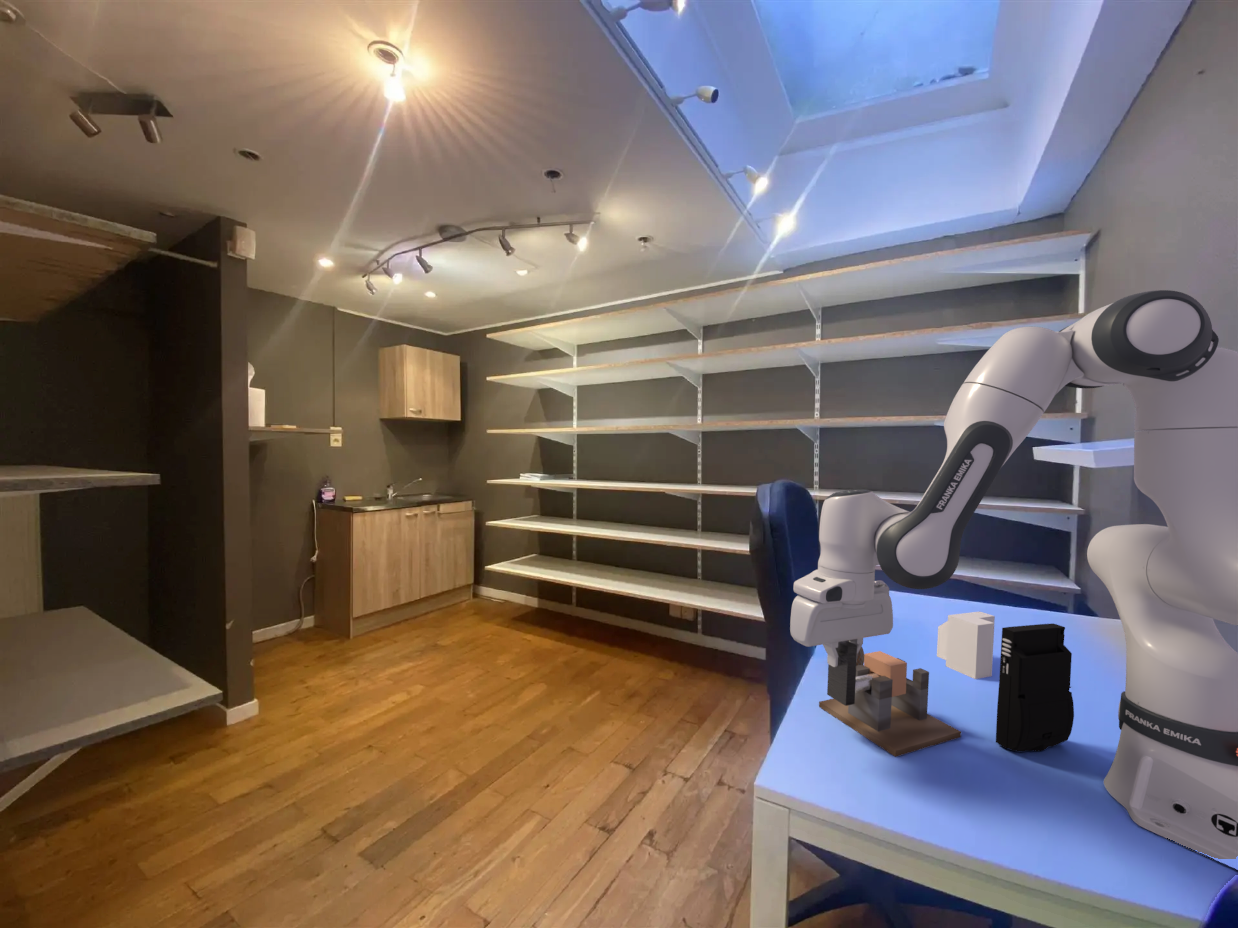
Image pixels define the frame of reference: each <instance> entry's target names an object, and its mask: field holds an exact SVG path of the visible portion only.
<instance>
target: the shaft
mask: <svg viewBox="0 0 1238 928" xmlns="http://www.w3.org/2000/svg"><path fill="white" fill-rule="evenodd" d="M836 651H837V654H838V655H840V656H842V661H841V662H842V665H841V666H837V667H833V666H831V665H829V664H828V663H827V664H828V669H827V689H826V690H827V692H826V695H827V696H829V697H830V698H831V699H835V700H837V701H838V702H840V703H842V704H843V705H845V706H848V705H852V704H855V693H857V692H861V691H866V690H870V689H872V678H875V677H880V675H878V674H877V673H872V674H867V675H862V676H857V677H856V661H857V645H855V644H853V643H851V642H849V641H841V642H838V648H836Z"/></svg>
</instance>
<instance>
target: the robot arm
mask: <svg viewBox="0 0 1238 928" xmlns="http://www.w3.org/2000/svg"><path fill="white" fill-rule="evenodd" d="M1219 343H1220V339H1219V336H1218V335H1217V333H1216V332H1215V331H1214V329H1213V324H1212V321H1211V317H1210V316H1209V314H1208V311H1207V310H1206V309H1205V307H1204V306H1203V305H1202V304H1201V303H1200V302H1199V301H1198V300H1197V299H1195V298H1194V297H1192V296H1191V295H1189V294H1187V293H1184V292H1180V291H1176V290H1169V289H1166V290H1165V289H1162V290H1161V289H1160V290H1159V289H1158V290H1157V289H1156V290H1149V291H1143V292H1139V293H1134V294H1131V295H1127V296H1125V297H1122V298H1120V299H1119V300H1115V301H1114V302H1112V303H1110V304H1107V305H1105V306H1102V307H1099V308H1097V309H1095V310H1092V311H1091V312H1089V313H1087V314H1086V315H1085V316H1083V317H1081V318H1080V319H1079V320H1077V321H1076V322H1074V323H1072V324H1070V325H1067V326H1066V327H1063V329H1061V330H1058V331H1055V330H1052V329H1049V328H1046V327H1041V326H1019V327H1016V328H1013V329H1011V330H1008V331H1007V332H1006V333H1003V335H1001V336H1000V337H999V338H998V339H997V340H996V341H995V342H994V343H993V345H992V346H991V347H990V348H989V349H988V350H987V351H986V352H985V353H984V354H983V356H982V357H981V358H980V360H979V361H978V362H977V363H976V364H975V366H974V367H973V368H972V370H971V371H970V373H969V374H968V375H967V376H966V379H964V380H963V381H964V382H963V383H962V384H961V385H960V388H959V389H958V391H957V392H956V394H955V396H954V397H953V399H952V402H951V404H950V405H949V409H948V411H947V413H946V415H945V416H946V417H945V418H944V421H943V429H944V434H945V437H946V452H945V456H944V459H943V460H942V461H943V462H942V464H941V465H940V468H939V469H938V471H937V473H936V474H935V476H934V477H933V479H932V480H931V481H930V482H931V483H930V484H929V485H928V487H927V489H926V491H925V492H924V493H923V495H922V497H921V499H920V501H919V502H918V504H917V505H916V506H915V508H914V509H913V510H912V511H909V510H906V509H903V508H902V507H901V508H900V507H898V506H896V505H894V504H892V503H890V502H888V501H887V500H884V499H883V498H881V497H880V496H878V495H876V494H875V493H874V491H872V490H869V489H860V488H859V489H848V490H840V491H837V492H834V493H832V494H830V495H828V496H827V497H826V499H824V501H823V504H822V506H821V511H820V512H821V513H820V519H819V530H818V541H819V545H820V555H819V558H818V560H817V569H815V570H813V571H812V572H810V573H808V574H806V575H804V576H803V577H801V578H798V579H797V580H795V581H794V582H793V592H794V594H797V596H795V597H794V598H793V601H792V604H791V608H790V609H791V610H790V623H789V625H790V627H789V630H790V636H791V637H792V638H793V640H794V641H795V642H797V643H798V644H801V645H802V646H805V647H807V648H808V647H815V646H822V647H823V649H824V651H825V652H826V654H827V656H826V661H827V664H829V665H831V666H833V667H837V666H841V665H842V662H841V661H842V656H840V655H838V654H837V651H836V648H838V642H841V641H847V640H850V641H849V642H851V643H853V644H855V645H857V654H858V652H859V650H860V648H861V646H862V647H863V644H864V639H865V638H870V637H877V636H878V637H879V636H883V635H889V634H890V633H891V632H892V630H893V627H894V614H893V613H894V612H893V610H894V609H893V603H892V599H891V596H890V587H889V586H888V584H887V583H885V582H884V580H878V579H877V580H875V579H876V577H875V576H876V575H875V574H876V567H877V566H879V567H880V568H881V570H882V571H883V573H884V574H885V575H886V576H887V578H889V579H890V580H891V581H892V582H895V583H896V584H898V585H899V586H902V587H905V588H908V589H912V590H913V589H914V590H928V589H933V588H936V587H938V586H941V585H943V584H944V583H946V582H947V581H948V580H949V579H951V578H952V576H953V575H954V573H956V570H957V567H958V565H959V562H960V554H961V542H962V538H963V534H964V531H965V529H966V527H967V525H968V523H969V522H970V520H971V518H972V517H973V515H974V513H975V512H976V511H977V508H978V507H979V506H980V503H981V502H982V500H983V499H984V497H985V495H986V494H987V493H988V490H989V489H990V487H991V485H992V484H993V482H994V481H995V479H996V477H997V475H998V474H999V472H1000V470H1001V468H1002V467H1004V465H1005V464H1006V462H1007V461H1008V460H1009V458H1010V457H1011V456H1012V454H1013V453H1014V452H1015V451H1016V449H1017V448H1018V447H1019V446H1020V445H1021V443H1023V441H1024V440H1026V437H1028V435H1029V434H1030V433H1031V431H1032V430H1033V429H1034V428H1035V426H1036V424H1038V422H1039V421H1040V420H1041V417H1042V416H1043V415H1044V413H1045V412H1046V410H1047V409H1048V407H1049V406H1050V405H1051V402H1052V401H1053V399H1054V398H1055V396H1056V395H1057V394H1058V393H1059V392H1060V391H1061V390H1062V389H1063V388H1064V387H1067V388H1068V387H1069V388H1075V389H1095V388H1096V389H1097V388H1102V387H1107V386H1114V385H1120V384H1121V385H1122V386H1123V387H1124V388H1125V389H1126V390H1127V391H1128V393H1129V395H1130V396H1131V398H1132V401H1133V403H1134V408H1135V415H1134V435H1133V437H1134V438H1133V441H1134V444H1133V482H1134V483H1135V486H1136V487H1137V489H1138V490H1139V491H1140V492H1141V493H1142V494H1144V495H1145V496H1146V497H1148V498H1149V499H1151V501H1153V502H1154V504H1155V505H1156V506H1157V507H1158V509H1159V510H1160V512H1161V515H1163V518H1164V520H1165V522H1166V525H1167V526H1165V525H1157V524H1148V523H1143V524H1141V523H1140V524H1139V523H1138V524H1136V523H1135V524H1122V525H1121V524H1120V525H1112V526H1108V527H1106V528H1103V529H1101V530H1100V531H1098V532H1097V533H1095V535H1094V536H1093V537H1092V538H1091V540H1090V541H1089V544H1088V547H1087V551H1086V555H1087V556H1086V558H1087V562H1088V565H1089V567H1090V569H1091V570H1092V572H1093V573H1094V574H1095V575H1096V576H1097V577H1098V578H1099V579H1100V580H1101V582H1102V583H1103V584H1104V586H1105V587H1106V588H1107V590H1108V592H1109V594H1110V596H1111V598H1112V601H1113V602H1114V605H1115V608H1116V610H1117V614H1118V615H1119V616H1118V617H1119V619H1120V622H1121V625H1122V629H1123V633H1124V637H1125V638H1124V639H1125V648H1126V650H1125V651H1126V652H1125V653H1126V654H1125V655H1126V662H1125V668H1126V669H1125V690H1123V691H1121V693H1120V699H1119V702H1118V712H1117V713H1118V715H1117V716H1118V729H1119V730H1120V734H1119V740H1118V744H1117V747H1116V748H1117V749H1116V751H1115V755H1114V759H1113V760H1112V764H1111V765H1110V767H1109V770H1108V771H1107V774H1106V775H1105V777H1104V779H1103V785H1104V788H1105V789H1106V791H1107V793H1109V794H1110V796H1111V797H1112V798H1113V799H1115V800H1116V801H1117V803H1119V804H1120V805H1122V807H1124V809H1125V810H1126V811H1127V813H1128V815H1129V817H1130V818H1131V819H1132V821H1133V823H1135V824H1136V825H1138V826H1139V827H1142V828H1143V829H1145V830H1148V831H1149V832H1152V833H1153V834H1154V833H1155V834H1156V835H1158V836H1161V837H1162V838H1165V839H1167V838H1168V839H1167V840H1169V839H1170V840H1169V841H1171V840H1173V841H1175V842H1174V843H1176V842H1177V843H1176V844H1178V843H1179V845H1180V844H1181V845H1180V846H1182V845H1183V847H1184V846H1186V847H1185V848H1187V847H1188V848H1187V849H1189V848H1191V849H1193V850H1197V851H1198V852H1202V853H1204V854H1207V855H1209V856H1211V857H1214V858H1218V859H1236V857H1237V856H1238V652H1237V651H1236V650H1235V649H1233V648H1232V647H1231V645H1230V644H1229V643H1228V642H1227V640H1225V639H1224V637H1223V636H1222V634H1221V632H1220V631H1219V629H1218V627H1217V625H1216V622H1215V620H1217V621H1220V622H1222V623H1227V624H1229V625H1233V626H1238V351H1236V350H1234V349H1229V348H1225V347H1219V346H1218V345H1219ZM1211 345H1212V346H1211ZM856 662H857V661H856ZM1173 841H1172V842H1173ZM1191 849H1190V850H1191ZM1193 850H1192V851H1193ZM1198 852H1197V853H1198Z"/></svg>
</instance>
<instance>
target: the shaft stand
mask: <svg viewBox="0 0 1238 928" xmlns="http://www.w3.org/2000/svg"><path fill="white" fill-rule="evenodd" d="M896 658H897V659H899V660H902V661H904V662H906V661H905V660H904V659H901V658H899V657H896ZM869 672H870V668H868V667H866V666H864V664H863V665H858V666H856V677H857V676H862V675H867V674H869ZM929 677H930V671H928V670H925V669H923V668H921V667H918V668H916V669H915V668H914V669H912V679H909V678H907V677H906V694H902V695H898V696H894V697H892V682H893V680H892V679H890V678H888V677H886V676H880V677H875V678H872V689H870V690H866V691H861V692H857V693H855V704H852V705H848V706H845V705H843V704H842V703H840V702H838V701H837V700H835V699H834V698H830V699H824V700H821V701H819V702H818V707H819V708H820V709H821V710H823V711H824V712H826V713H827V714H830V715H831V716H832V717H834V718H835V719H837V720H839V721H840V722H842V723H843V724H844V725H846V726H847V727H849V728H851V729H852V730H854V731H856V732H857V733H858V734H860V735H861V736H863V737H865V738H866V740H869V741H870V742H872V743H873V744H875V745H877V746H878V747H880V748H881V749H882V750H884V751H886V752H887V753H889V754H890V755H892V756H894V757H895V758H896V757H899V756H903V755H907V754H909V753H913V752H914V753H915V752H916V751H917V752H918V751H919V750H923V749H926V748H929V747H932V746H937V745H939V744H943V743H946V742H949V741H953V740H956V739H961V738H962V731H961V730H959V729H957V728H956V727H953V726H951V725H950V724H948V723H946V722H944V721H942V720H940V719H939V718H937V717H934V716H932V715H931V714H929V713H928V706H929V705H928V704H929V702H928V699H929V683H930V681H929V680H930V678H929Z"/></svg>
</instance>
